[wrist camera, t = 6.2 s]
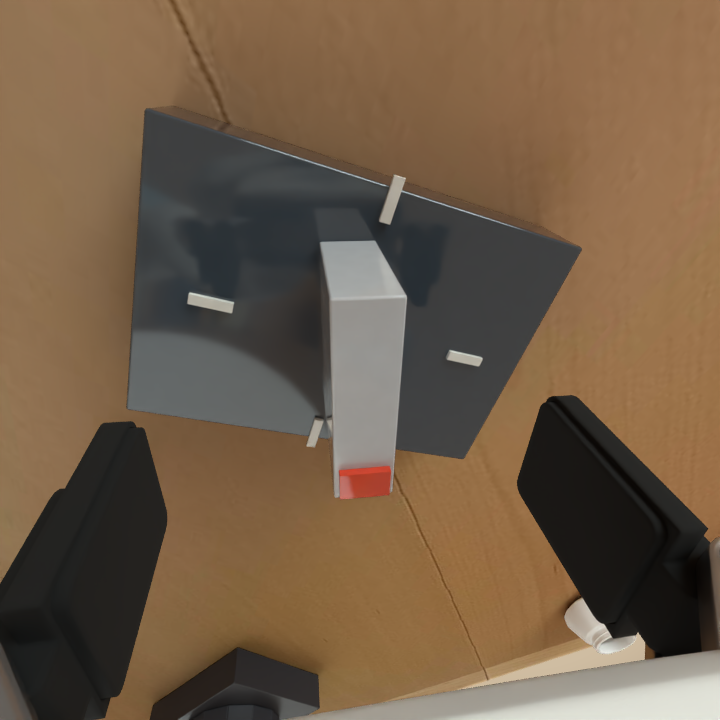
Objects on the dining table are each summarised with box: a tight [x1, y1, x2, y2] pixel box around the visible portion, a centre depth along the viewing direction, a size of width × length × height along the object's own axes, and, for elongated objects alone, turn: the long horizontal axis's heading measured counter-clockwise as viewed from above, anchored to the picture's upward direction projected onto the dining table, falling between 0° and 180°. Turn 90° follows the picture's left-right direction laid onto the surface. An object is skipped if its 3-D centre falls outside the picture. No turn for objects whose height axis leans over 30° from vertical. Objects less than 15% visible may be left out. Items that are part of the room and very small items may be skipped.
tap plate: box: [126, 106, 582, 459], centre depth 17 cm, size 14×11×3 cm
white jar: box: [564, 597, 636, 654], centre depth 33 cm, size 5×3×5 cm
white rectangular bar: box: [319, 241, 407, 500], centre depth 13 cm, size 6×2×5 cm, turn 179°
